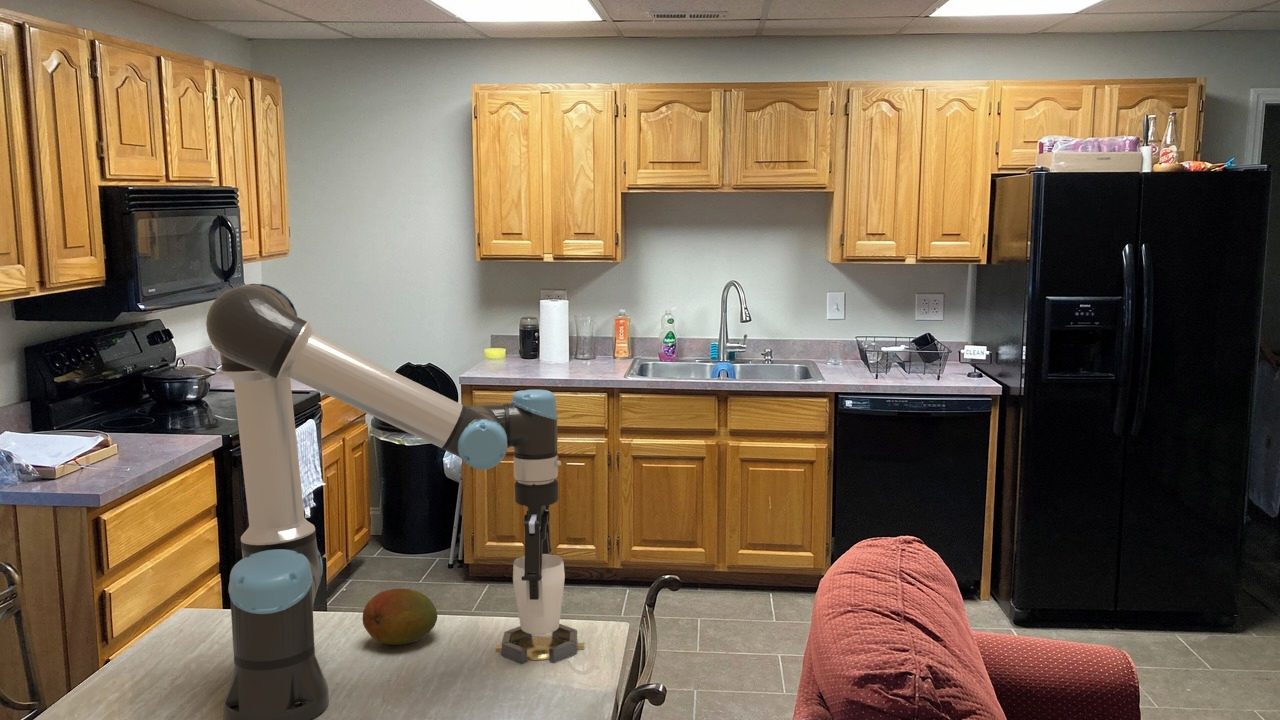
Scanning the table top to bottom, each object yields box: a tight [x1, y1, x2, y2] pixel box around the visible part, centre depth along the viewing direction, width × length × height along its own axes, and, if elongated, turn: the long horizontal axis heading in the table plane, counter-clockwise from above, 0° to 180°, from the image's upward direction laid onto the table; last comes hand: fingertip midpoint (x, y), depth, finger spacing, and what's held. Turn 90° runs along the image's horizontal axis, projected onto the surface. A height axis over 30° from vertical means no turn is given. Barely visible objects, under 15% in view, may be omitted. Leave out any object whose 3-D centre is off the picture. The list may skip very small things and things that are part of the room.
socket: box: [495, 623, 585, 665], centre depth 177 cm, size 15×13×2 cm
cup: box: [512, 553, 566, 635], centre depth 176 cm, size 9×9×12 cm
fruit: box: [362, 588, 438, 646], centre depth 181 cm, size 12×13×10 cm
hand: (539, 606), depth 177 cm, fingers closed on cup, 9 cm apart
